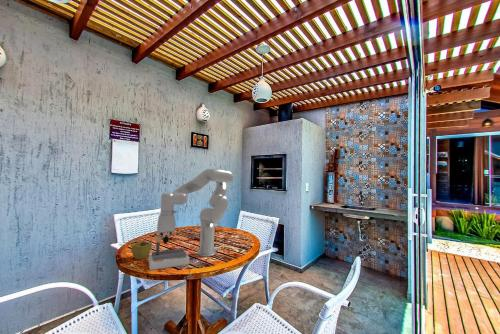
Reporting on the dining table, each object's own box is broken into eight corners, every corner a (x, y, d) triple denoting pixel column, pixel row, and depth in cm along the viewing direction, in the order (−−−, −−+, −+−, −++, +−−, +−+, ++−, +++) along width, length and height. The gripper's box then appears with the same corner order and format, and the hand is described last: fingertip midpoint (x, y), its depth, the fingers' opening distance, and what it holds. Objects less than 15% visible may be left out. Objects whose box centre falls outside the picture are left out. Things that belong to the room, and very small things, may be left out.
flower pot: (141, 254, 147) (142, 241, 148) (151, 256, 144) (152, 243, 145) (130, 259, 139) (130, 244, 140) (140, 261, 136) (141, 246, 136)
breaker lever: (160, 255, 136) (161, 235, 137) (161, 258, 131) (162, 237, 131) (153, 256, 134) (154, 235, 135) (154, 259, 129) (155, 238, 129)
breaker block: (184, 256, 147) (185, 246, 147) (189, 264, 134) (189, 253, 135) (148, 261, 136) (149, 251, 137) (149, 270, 124) (150, 258, 124)
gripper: (178, 211, 142) (177, 240, 142) (153, 212, 136) (151, 242, 135) (180, 213, 136) (179, 243, 135) (154, 214, 129) (152, 246, 128)
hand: (165, 243), depth 135 cm, fingers closed
